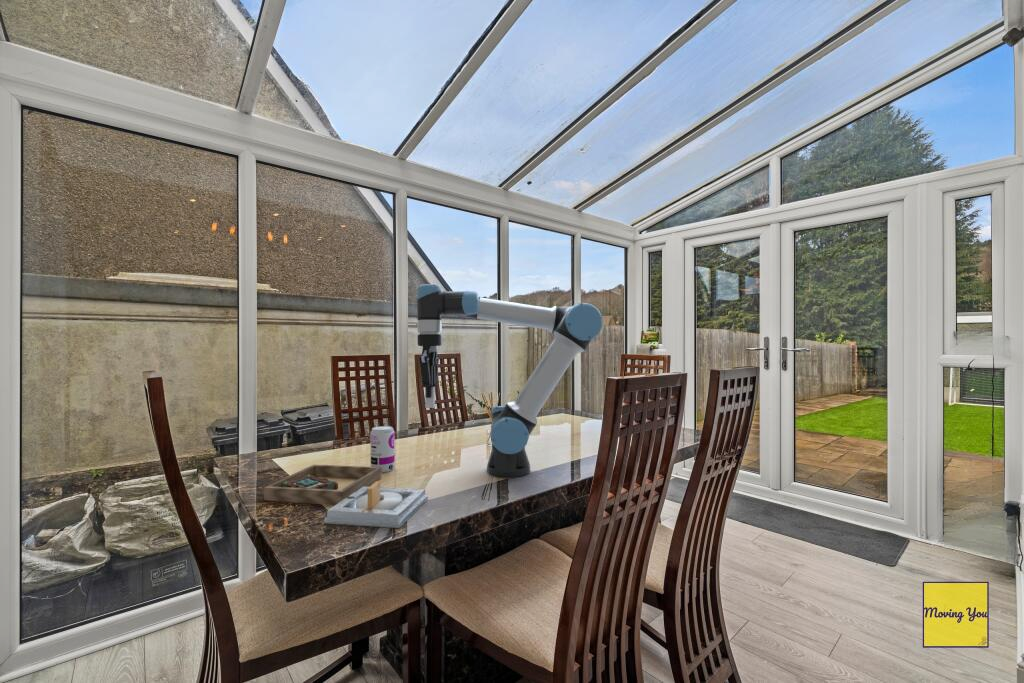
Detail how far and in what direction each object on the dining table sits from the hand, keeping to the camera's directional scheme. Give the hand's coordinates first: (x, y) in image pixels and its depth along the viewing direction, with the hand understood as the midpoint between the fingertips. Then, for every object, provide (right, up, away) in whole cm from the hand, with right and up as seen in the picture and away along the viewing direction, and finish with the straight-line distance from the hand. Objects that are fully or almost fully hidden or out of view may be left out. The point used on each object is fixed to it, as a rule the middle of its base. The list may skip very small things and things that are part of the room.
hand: (430, 407), depth 147 cm
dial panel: (-10, -25, -22) cm, 35 cm away
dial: (-10, -23, -23) cm, 34 cm away
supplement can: (-19, -25, +16) cm, 35 cm away
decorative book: (-37, -25, -8) cm, 46 cm away
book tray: (-31, -25, -5) cm, 40 cm away
